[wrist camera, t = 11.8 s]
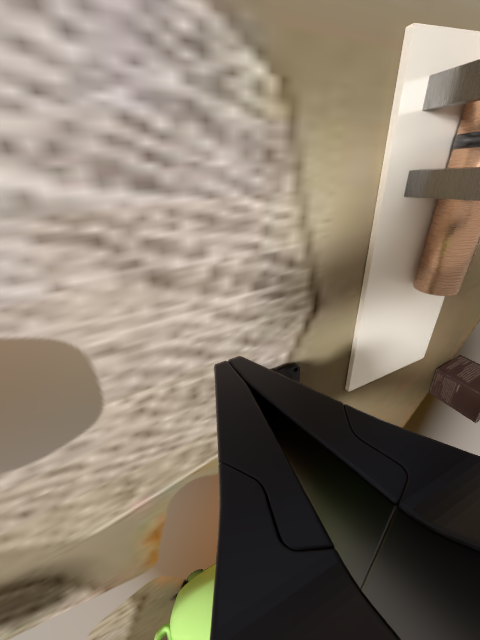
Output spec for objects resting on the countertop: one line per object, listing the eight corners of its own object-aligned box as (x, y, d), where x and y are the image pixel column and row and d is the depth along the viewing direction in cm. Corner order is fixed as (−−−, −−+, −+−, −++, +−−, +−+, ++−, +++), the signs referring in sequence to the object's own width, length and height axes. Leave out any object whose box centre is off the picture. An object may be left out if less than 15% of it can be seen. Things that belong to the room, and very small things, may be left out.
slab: (419, 355, 38) (423, 357, 38) (345, 389, 34) (348, 392, 33) (524, 42, 22) (534, 38, 21) (405, 27, 17) (414, 22, 17)
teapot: (284, 515, 43) (340, 623, 33) (273, 559, 50) (317, 659, 40) (145, 585, 35) (161, 761, 24) (155, 626, 42) (171, 778, 31)
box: (427, 393, 46) (474, 424, 40) (435, 367, 43) (487, 397, 37) (451, 378, 47) (500, 407, 41) (460, 353, 44) (514, 380, 38)
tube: (421, 278, 30) (464, 287, 27) (406, 288, 28) (451, 300, 25) (484, 68, 21) (559, 49, 18) (469, 59, 19) (551, 37, 16)
